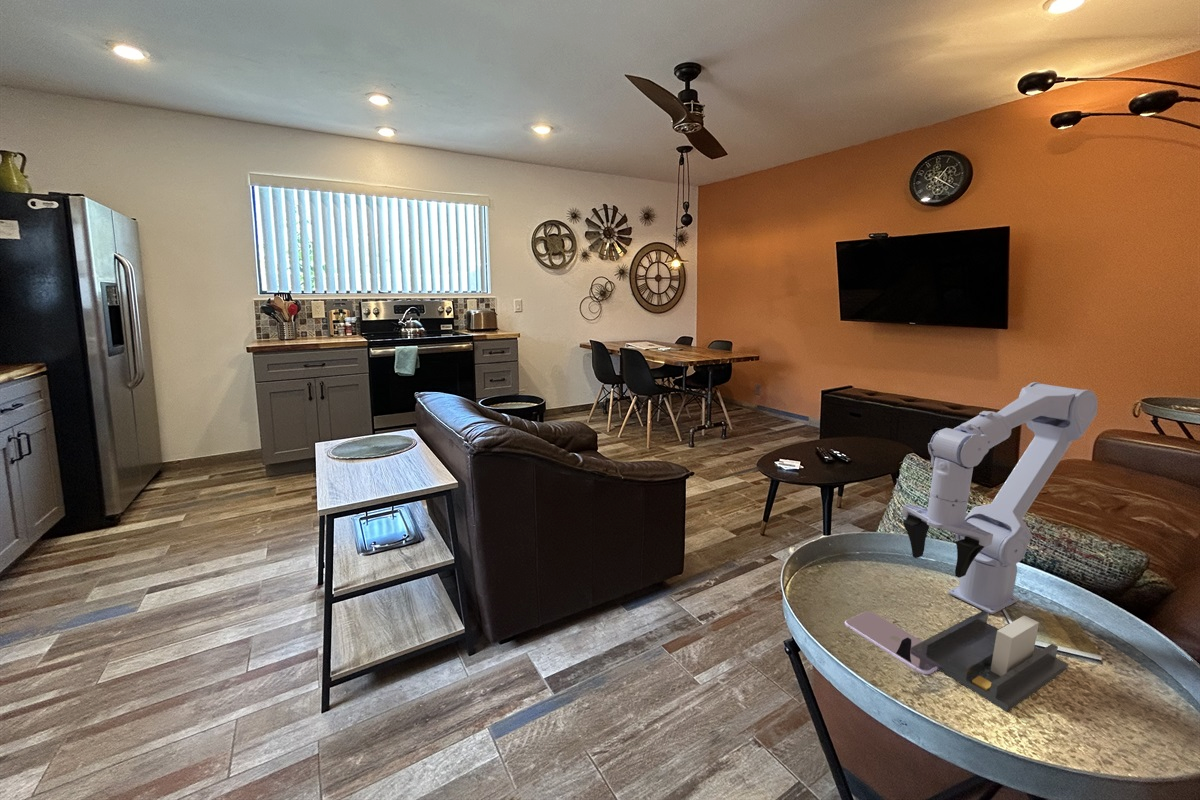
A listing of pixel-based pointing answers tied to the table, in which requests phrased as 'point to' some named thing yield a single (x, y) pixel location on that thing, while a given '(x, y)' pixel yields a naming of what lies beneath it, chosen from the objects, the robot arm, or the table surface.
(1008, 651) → the panel
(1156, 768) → the table surface
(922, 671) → the mobile phone
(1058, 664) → the charcoal rack
